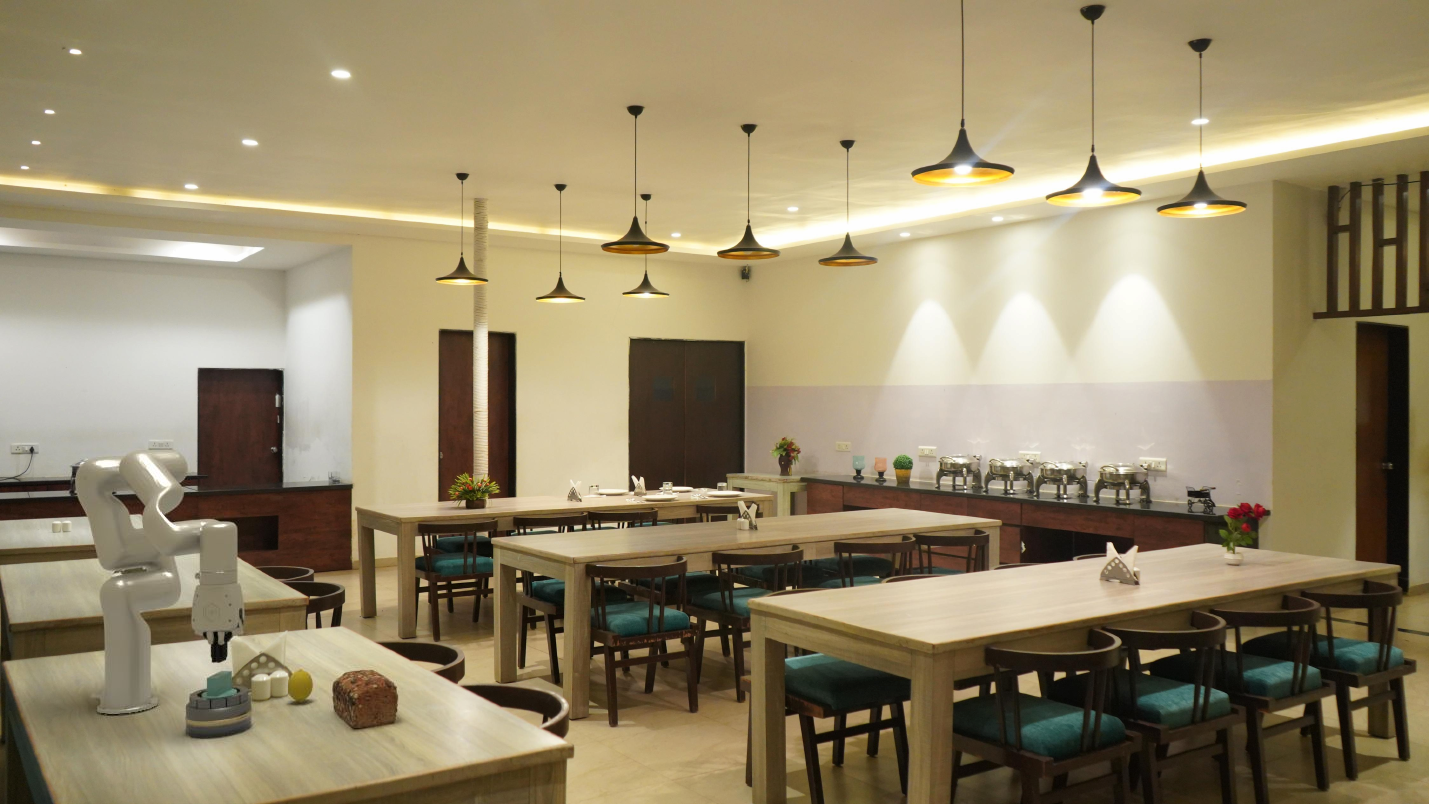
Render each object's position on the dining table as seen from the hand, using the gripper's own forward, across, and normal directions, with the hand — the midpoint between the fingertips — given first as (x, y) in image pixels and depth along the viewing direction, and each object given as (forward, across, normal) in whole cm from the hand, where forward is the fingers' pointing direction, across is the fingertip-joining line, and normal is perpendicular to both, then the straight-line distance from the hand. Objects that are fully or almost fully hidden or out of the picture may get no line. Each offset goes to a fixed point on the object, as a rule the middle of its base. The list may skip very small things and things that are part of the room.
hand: (219, 661), depth 227 cm
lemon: (+15, +8, +21) cm, 27 cm away
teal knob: (+9, 0, 0) cm, 9 cm away
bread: (+15, +28, +11) cm, 34 cm away
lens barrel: (+15, 0, 0) cm, 15 cm away
